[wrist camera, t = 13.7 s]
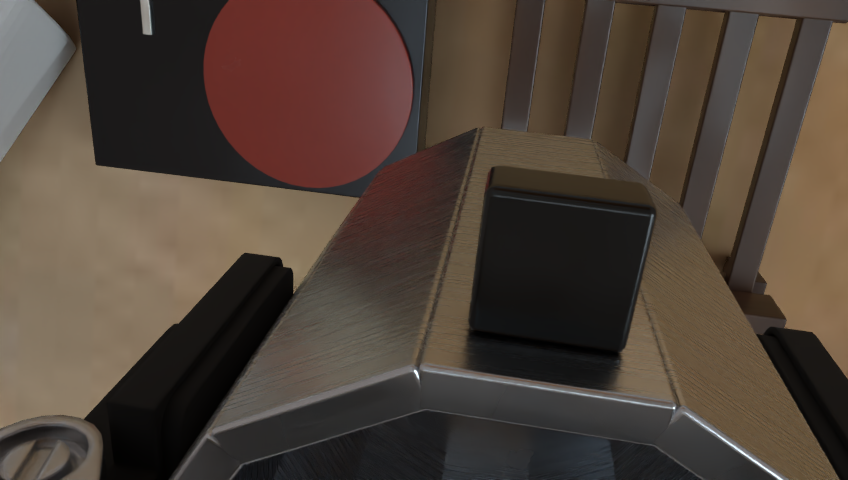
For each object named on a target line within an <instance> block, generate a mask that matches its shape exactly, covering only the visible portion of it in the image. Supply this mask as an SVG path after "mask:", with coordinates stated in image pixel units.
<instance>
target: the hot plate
mask: <svg viewBox="0 0 848 480" xmlns="http://www.w3.org/2000/svg"><path fill="white" fill-rule="evenodd" d="M204 83H205V90H206V95H207V99H208V103H209V106H210V108H211V111H212V114H213V116H214V118H215V120H216V122H217V124H218V126H219V128H220V130H221V131H222V133H223V134H224V136H225V138H226V139H227V140H228V142H229V143H230V144H231V145H232V147H233V148H234V149H235V150H236V151H237V152H238V153H239V154H240V155H241V156H242V157H243V158H244V159H245V160H246V161H247V162H249V163H250V164H251V165H253V166H254V167H255V168H257V169H258V170H260V171H262V172H263V173H265V174H266V175H268V176H270V177H273V178H275V179H277V180H279V181H282V182H285V183H288V184H291V185H296V186H301V187H309V188H326V187H334V186H339V185H344V184H347V183H350V182H352V181H355V180H357V179H359V178H361V177H363V176H365V175H367V174H368V173H370V172H371V171H373V170H374V169H375V168H377V167H378V166H379V165H380V164H381V163H382V162H383V161H384V160H386V159H387V157H388V156H389V155H390V154H391V152H392V151H393V150H394V149H395V147H396V146H397V144H398V142H399V141H400V139H401V137H402V136H403V133H404V131H405V129H406V126H407V124H408V121H409V117H410V114H411V110H412V103H413V94H414V81H413V73H412V66H411V62H410V58H409V54H408V51H407V48H406V46H405V43H404V41H403V38H402V36H401V34H400V32H399V31H398V29H397V27H396V25H395V24H394V22H393V21H392V19H391V18H390V17H389V15H388V14H387V12H386V11H385V10H384V9H383V8H382V7H381V6H380V5H379V4H378V3H377V2H376V1H375V0H229V1H228V2H227V3H226V4H225V6H224V7H223V8H222V9H221V11H220V13H219V14H218V16H217V18H216V19H215V21H214V23H213V26H212V28H211V30H210V33H209V36H208V40H207V43H206V47H205V54H204Z"/></svg>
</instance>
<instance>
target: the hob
mask: <svg viewBox="0 0 848 480" xmlns="http://www.w3.org/2000/svg"><path fill="white" fill-rule="evenodd" d="M228 1H229V0H76V3H77V11H78V20H79V28H80V36H81V45H82V53H83V61H84V70H85V78H86V87H87V95H88V103H89V112H90V120H91V129H92V137H93V145H94V154H95V162H96V165H99V166H107V167H115V168H123V169H131V170H139V171H147V172H156V173H164V174H172V175H180V176H188V177H196V178H204V179H212V180H220V181H229V182H237V183H245V184H253V185H261V186H269V187H277V188H285V189H293V190H302V191H310V192H318V193H326V194H334V195H342V196H350V197H358V198H360V197H361V196H362V194H363V193H364V192H365V190H366V189H367V187H368V186H369V185H370V183H371V182H372V180H373V179H374V178H375V176H376V175H377V173H378V172H379V171H380V170H382V169H383V168H384V167H385V166H387V165H390V164H392V163H394V162H397V161H399V160H401V159H404V158H406V157H409V156H411V155H413V154H416V153H418V152H420V151H423V150H425V140H426V128H427V115H428V102H429V89H430V77H431V64H432V51H433V39H434V26H435V13H436V0H375V1H376V2H377V3H378V4H379V5H380V6H381V7H382V8H383V9H384V10H385V11H386V12H387V14H388V15H389V17H390V18H391V19H392V21H393V22H394V24H395V25H396V27H397V29H398V31H399V32H400V34H401V36H402V38H403V41H404V43H405V46H406V48H407V51H408V54H409V58H410V62H411V66H412V73H413V81H414V94H413V103H412V110H411V114H410V117H409V121H408V124H407V126H406V129H405V131H404V133H403V136H402V137H401V139H400V141H399V142H398V144H397V146H396V147H395V149H394V150H393V151H392V152H391V154H390V155H389V156H388V157H387V159H386V160H384V161H383V162H382V163H381V164H380V165H379V166H378V167H377V168H375V169H374V170H373V171H371V172H370V173H368V174H367V175H365V176H363V177H361V178H359V179H357V180H355V181H352V182H350V183H347V184H344V185H339V186H334V187H326V188H309V187H301V186H296V185H291V184H288V183H285V182H282V181H279V180H277V179H275V178H273V177H270V176H268V175H266V174H265V173H263V172H262V171H260V170H258V169H257V168H255V167H254V166H253V165H251V164H250V163H249V162H247V161H246V160H245V159H244V158H243V157H242V156H241V155H240V154H239V153H238V152H237V151H236V150H235V149H234V148H233V147H232V145H231V144H230V143H229V142H228V140H227V139H226V138H225V136H224V134H223V133H222V131H221V130H220V128H219V126H218V124H217V122H216V120H215V118H214V116H213V114H212V111H211V108H210V106H209V103H208V99H207V95H206V90H205V83H204V54H205V47H206V43H207V40H208V36H209V33H210V30H211V28H212V26H213V23H214V21H215V19H216V18H217V16H218V14H219V13H220V11H221V9H222V8H223V7H224V6H225V4H226V3H227V2H228Z"/></svg>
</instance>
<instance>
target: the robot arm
mask: <svg viewBox="0 0 848 480" xmlns="http://www.w3.org/2000/svg"><path fill="white" fill-rule="evenodd" d="M292 296H293V271H292V269H291V268H287V267H283V264H282V260H281V259H280V258H279V257H272V256H265V255H258V254H250V253H244V254H243V255H241V257H240V258H239V259H238V260H237V261H236V262H235V263H234V264H233V265H232V266H231V267H230V269H229V270H228V271H227V272H226V273H225V274H224V275H223V276H222V277H221V278H220V279H219V280H218V282H217V283H216V284H215V285H214V286H213V287H212V288H211V289H210V290H209V291H208V292H207V293H206V295H205V296H204V297H203V298H202V299H201V300H200V301H199V302H198V303H197V304H196V305H195V307H194V308H193V309H192V310H191V311H190V312H189V313H188V314H187V315H186V316H185V317H184V318H183V320H182V321H181V322H180V323H179V324H174V325H173V326H171V327H170V328H169V329H168V330H167V331H166V332H165V333H164V334H163V335H162V336H161V337H160V338H159V339H158V340H157V341H156V343H155V344H154V345H153V346H152V347H151V348H150V349H149V350H148V351H147V352H146V353H145V354H144V355H143V356H142V358H141V359H140V360H139V361H138V362H137V363H136V364H135V365H134V366H133V367H132V368H131V369H130V370H129V371H128V373H127V374H126V375H125V376H124V377H123V378H122V379H121V380H120V381H119V382H118V383H117V384H116V385H115V386H114V387H113V389H112V390H111V391H110V392H109V393H108V394H107V395H106V396H105V397H104V398H103V399H102V400H101V401H100V402H99V404H98V405H97V406H96V407H95V408H94V409H93V410H92V411H91V412H90V413H89V414H88V415H87V416H86V417H85V418H84V420H83V419H81V418H77V417H72V416H66V415H53V416H40V417H35V418H31V419H26V420H22V421H19V422H16V423H14V424H11V425H8V426H6V427H3V428H1V429H0V480H168V479H169V478H170V476H171V475H172V474H173V472H174V471H175V469H176V468H177V466H178V465H179V463H180V462H181V460H182V459H183V457H184V456H185V454H186V453H187V451H188V450H189V448H190V447H191V445H192V444H193V442H194V441H195V439H196V438H197V436H198V435H199V434H200V432H201V431H202V429H203V428H204V426H205V425H206V423H207V422H208V420H209V419H210V417H211V416H212V414H213V413H214V411H215V410H216V408H217V407H218V405H219V404H220V402H221V401H222V399H223V398H224V396H225V395H226V394H227V392H228V391H229V389H230V388H231V386H232V385H233V383H234V382H235V380H236V379H237V377H238V376H239V374H240V373H241V371H242V370H243V368H244V367H245V365H246V364H247V362H248V361H249V359H250V358H251V356H252V355H253V353H254V352H255V351H256V349H257V348H258V346H259V345H260V343H261V342H262V340H263V339H264V337H265V336H266V334H267V333H268V331H269V330H270V328H271V327H272V325H273V324H274V322H275V321H276V319H277V318H278V316H279V315H280V313H281V312H282V311H283V309H284V308H285V306H286V305H287V303H288V302H289V300H290V299H291V297H292ZM756 335H757V337H758V339H759V341H760V342H761V344H762V346H763V348H764V349H765V351H766V353H767V354H768V356H769V358H770V360H771V361H772V363H773V365H774V367H775V368H776V370H777V372H778V373H779V375H780V377H781V379H782V380H783V382H784V384H785V386H786V387H787V389H788V391H789V392H790V394H791V396H792V398H793V399H794V401H795V403H796V405H797V406H798V408H799V410H800V411H801V413H802V415H803V417H804V418H805V420H806V422H807V424H808V425H809V427H810V429H811V430H812V432H813V434H814V436H815V437H816V439H817V441H818V443H819V444H820V446H821V448H822V449H823V451H824V453H825V455H826V456H827V458H828V460H829V462H830V463H831V465H832V467H833V468H834V470H835V472H836V474H837V475H838V477H839V479H840V480H848V379H847V378H846V376H845V375H844V374H843V372H842V371H841V370H840V368H839V367H838V365H837V364H836V363H835V361H834V360H833V359H832V357H831V356H830V354H829V353H828V352H827V350H826V349H825V348H824V346H823V345H822V343H821V342H820V341H819V339H818V338H817V337H816V335H814V334H813V333H812V332H806V331H799V330H792V329H785V328H778V327H769V328H768V329H767V330H766V331H765V332H764V334H763V335H760V334H756Z"/></svg>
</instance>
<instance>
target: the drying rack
mask: <svg viewBox="0 0 848 480" xmlns="http://www.w3.org/2000/svg"><path fill="white" fill-rule="evenodd" d="M615 3H623V4H634V5H645V6H654V11H653V16H652V21H651V26H650V31H649V36H648V41H647V46H646V51H645V56H644V61H643V66H642V71H641V76H640V81H639V86H638V91H637V96H636V101H635V106H634V111H633V116H632V121H631V126H630V131H629V136H628V141H627V146H626V151H625V157H624V162H625V163H626V164H627V165H629V166H630V167H631V168H633V169H634V170H635V171H637V172H638V173H639V174H641V175H642V176H643V177H645V178H646V179H647V180H648V181H649V179H650V175H651V170H652V165H653V161H654V156H655V152H656V147H657V142H658V138H659V133H660V129H661V124H662V119H663V115H664V110H665V106H666V101H667V96H668V92H669V87H670V82H671V78H672V73H673V69H674V64H675V59H676V55H677V50H678V46H679V41H680V36H681V32H682V27H683V23H684V18H685V13H686V9H690V10H701V11H712V12H723V13H725V14H724V18H723V22H722V27H721V31H720V35H719V39H718V43H717V48H716V52H715V56H714V60H713V64H712V69H711V73H710V77H709V81H708V85H707V90H706V94H705V98H704V102H703V106H702V110H701V115H700V119H699V123H698V127H697V131H696V136H695V140H694V144H693V148H692V152H691V157H690V161H689V165H688V169H687V173H686V178H685V182H684V186H683V190H682V194H681V198H680V203H679V204H680V206H681V207H682V208H683V209H684V211H685V213H686V215H687V216H688V218H689V220H690V221H691V223H692V225H693V227H694V228H695V230H696V232H697V234H698V235H699V237H700V239H701V238H702V234H703V230H704V226H705V222H706V219H707V215H708V211H709V207H710V203H711V199H712V195H713V191H714V188H715V184H716V180H717V176H718V172H719V168H720V164H721V160H722V157H723V153H724V149H725V145H726V141H727V137H728V133H729V129H730V125H731V122H732V118H733V114H734V110H735V106H736V102H737V98H738V94H739V91H740V87H741V83H742V79H743V75H744V71H745V67H746V63H747V60H748V56H749V52H750V48H751V44H752V40H753V36H754V32H755V29H756V25H757V21H758V17H759V16H768V17H779V18H790V19H797V20H796V24H795V28H794V31H793V35H792V38H791V42H790V45H789V49H788V53H787V56H786V60H785V63H784V67H783V70H782V74H781V78H780V81H779V85H778V88H777V92H776V96H775V99H774V103H773V106H772V110H771V113H770V117H769V121H768V124H767V128H766V131H765V135H764V138H763V142H762V146H761V149H760V153H759V156H758V160H757V164H756V167H755V171H754V174H753V178H752V181H751V185H750V189H749V192H748V196H747V199H746V203H745V206H744V210H743V214H742V217H741V221H740V224H739V228H738V231H737V235H736V239H735V242H734V246H733V249H732V253H731V257H727V259H726V263H725V266H724V270H723V272H720V273H721V275H722V277H723V278H724V280H725V282H726V284H727V285H728V287H729V289H730V291H731V292H732V294H733V296H734V297H735V299H736V301H737V303H738V304H739V306H740V308H741V310H742V311H743V313H744V315H745V316H746V318H747V320H748V322H749V323H750V325H751V327H752V329H753V330H754V332H755V334H762V335H763V334H764V332H765V331H766V330H767V329H768V328H769V327H778V328H784V327H785V324H786V321H787V320H786V318H785V316H784V315H783V313H782V312H781V310H780V309H779V307H778V306H777V304H776V303H775V301H774V300H773V299H772V297H771V296H770V295H764V292H765V288H766V285H767V283H766V281H765V280H764V278H763V277H762V276H761V275H760V273H759V272H758V270H759V266H760V263H761V260H762V256H763V253H764V250H765V246H766V243H767V240H768V236H769V233H770V230H771V226H772V223H773V220H774V216H775V213H776V210H777V206H778V203H779V200H780V196H781V193H782V190H783V186H784V183H785V180H786V176H787V173H788V170H789V166H790V163H791V160H792V156H793V153H794V150H795V146H796V143H797V140H798V136H799V133H800V130H801V126H802V123H803V120H804V116H805V113H806V110H807V106H808V103H809V100H810V96H811V93H812V90H813V86H814V83H815V80H816V76H817V73H818V70H819V66H820V63H821V60H822V56H823V53H824V50H825V46H826V43H827V40H828V36H829V33H830V30H831V26H832V23H833V22H834V23H847V22H848V0H585V5H584V12H583V18H582V24H581V30H580V37H579V43H578V49H577V55H576V62H575V68H574V74H573V80H572V87H571V93H570V99H569V105H568V111H567V118H566V124H565V130H564V136H567V137H575V138H584V139H591V138H592V132H593V127H594V121H595V116H596V110H597V104H598V99H599V93H600V87H601V82H602V76H603V70H604V65H605V59H606V53H607V48H608V42H609V37H610V31H611V25H612V20H613V14H614V8H615ZM544 8H545V0H517V2H516V10H515V19H514V27H513V35H512V43H511V51H510V59H509V68H508V76H507V84H506V92H505V100H504V108H503V116H502V125H501V129H508V130H516V131H525V132H527V130H528V123H529V116H530V109H531V101H532V94H533V87H534V80H535V73H536V65H537V58H538V51H539V44H540V37H541V29H542V22H543V15H544Z"/></svg>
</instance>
